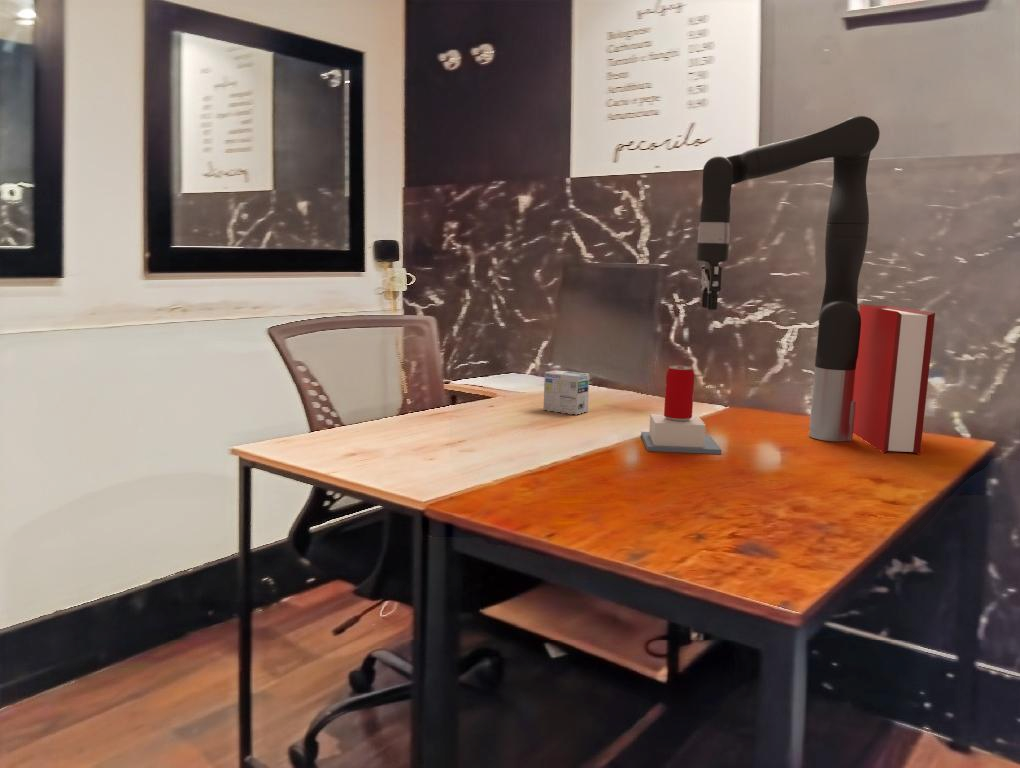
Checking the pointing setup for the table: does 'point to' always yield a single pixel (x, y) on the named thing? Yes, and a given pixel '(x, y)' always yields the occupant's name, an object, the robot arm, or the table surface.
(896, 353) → the book
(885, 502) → the table surface
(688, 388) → the beverage can
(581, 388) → the light bulb box
